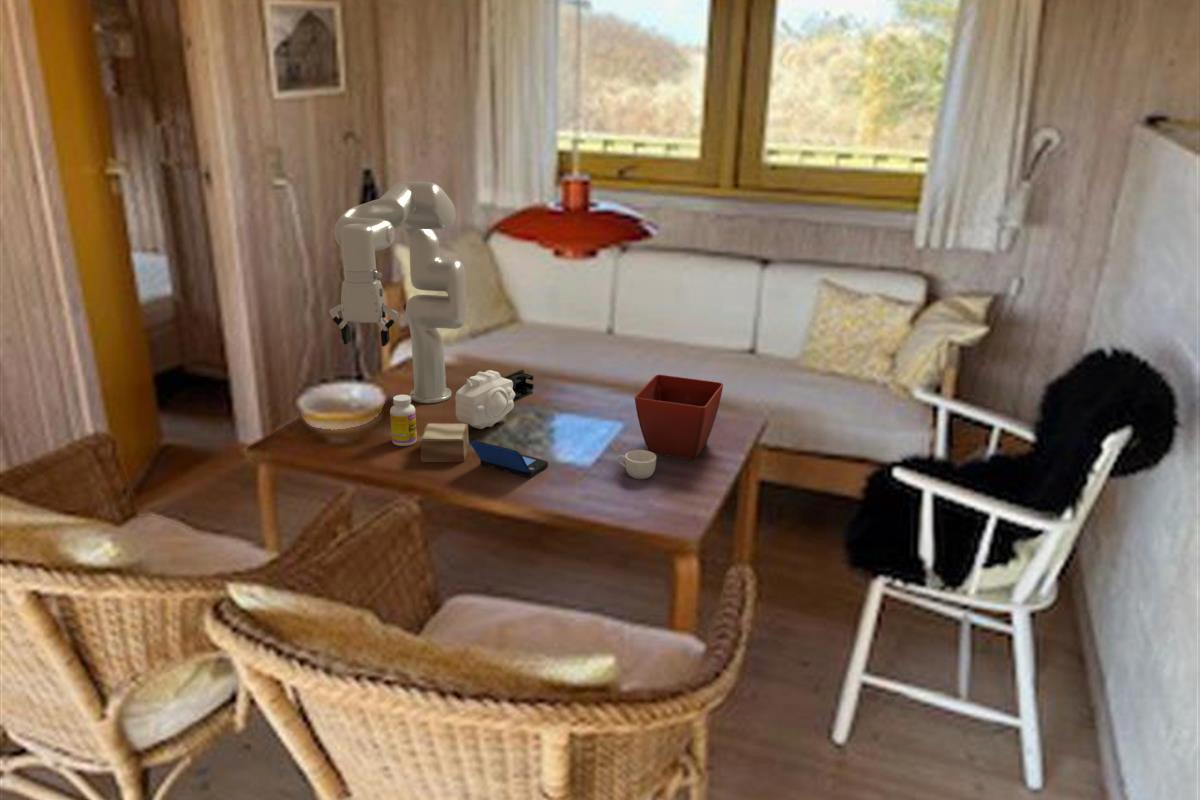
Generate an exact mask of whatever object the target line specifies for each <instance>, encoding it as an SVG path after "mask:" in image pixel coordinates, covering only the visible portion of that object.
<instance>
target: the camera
mask: <svg viewBox="0 0 1200 800" xmlns="http://www.w3.org/2000/svg"><path fill="white" fill-rule="evenodd" d="M514 397H515V392H514V391H513V382H512V381H511V380H508V379H505V378H502V376H501V374H500V372H498V371H495V370H491V369H490V370H486V371H478V372H476V374H475V375H474V376H473V375H472V376H470V377H469V378H466V384H464V385H463V386H462V387H460V388H459V389H458V390H456V393H455V398H454V400H455V417H456V420H457V421H459V422H462V423H463V424H468V425H470V426H471V427H472V428H475V429H478V430H482V429H485V428H487V427H489V428H492V427H494V425H495V424H496V423H499V422H500V421H501V420H502V419H503V418H504V417H506V415H508V413H510V412H511V411H512V410H513V409H514V407H515V404H514V401H513V399H514Z"/></svg>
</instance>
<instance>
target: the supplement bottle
mask: <svg viewBox="0 0 1200 800" xmlns="http://www.w3.org/2000/svg"><path fill="white" fill-rule="evenodd" d="M392 401H393V402H392V404H393V405H392V406H391V407H390V410H389V415H390V427H391V428H390V429H391V430H390V431H391V441H392V444H393V445H396V446H399V447H407V446H412V445H414V444H416V443H417V441H418V432H417V431H418V430H417V416H416V408H415V406H414V405H413V404H411V402H412V399H411V397H410V394H409V395H408V394H397V395H395V396H393V398H392Z"/></svg>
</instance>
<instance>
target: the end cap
mask: <svg viewBox="0 0 1200 800" xmlns="http://www.w3.org/2000/svg"><path fill="white" fill-rule="evenodd" d="M501 377H502V376H501ZM502 378H505V379H508V380H511V381H512V382H513V391H514V392H515V397H514V399H513V402H517V401H520V400H521V399H524V398H526V397H528V396H530V395H532V394H533V393H534V392H533V390H534V383H531V382H527V380H530V381H534V375H533V374H529V373H527V372H525V370H524V369H519V370H518V371H517V370H516V371H514V372H512V373H510V374H507V375H505V376H503V377H502Z"/></svg>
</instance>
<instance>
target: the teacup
mask: <svg viewBox="0 0 1200 800" xmlns="http://www.w3.org/2000/svg"><path fill="white" fill-rule="evenodd" d="M621 458H622V459H623V460H624V461H625V462H622V460H621ZM617 462H618V463H619V464H620V466H622V467H624V468H625V470H626V472H627V474H628V475H629V477H631V478H633V479H636V480H645V479H647V478H650V477H651V476H652V475H653V474H654V472H655V470H656V467H657V466H656V464H657V454H654V453H652V452H650V451H648V450H645V449H634V450H633V449H632V450H629V451H627V452H625V455H623V454H622V455H619V456H618V459H617Z"/></svg>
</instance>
